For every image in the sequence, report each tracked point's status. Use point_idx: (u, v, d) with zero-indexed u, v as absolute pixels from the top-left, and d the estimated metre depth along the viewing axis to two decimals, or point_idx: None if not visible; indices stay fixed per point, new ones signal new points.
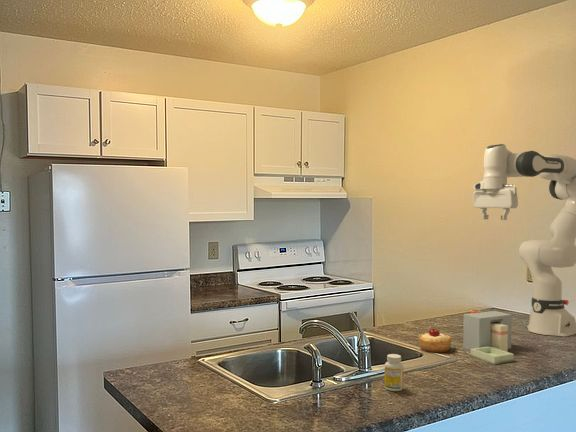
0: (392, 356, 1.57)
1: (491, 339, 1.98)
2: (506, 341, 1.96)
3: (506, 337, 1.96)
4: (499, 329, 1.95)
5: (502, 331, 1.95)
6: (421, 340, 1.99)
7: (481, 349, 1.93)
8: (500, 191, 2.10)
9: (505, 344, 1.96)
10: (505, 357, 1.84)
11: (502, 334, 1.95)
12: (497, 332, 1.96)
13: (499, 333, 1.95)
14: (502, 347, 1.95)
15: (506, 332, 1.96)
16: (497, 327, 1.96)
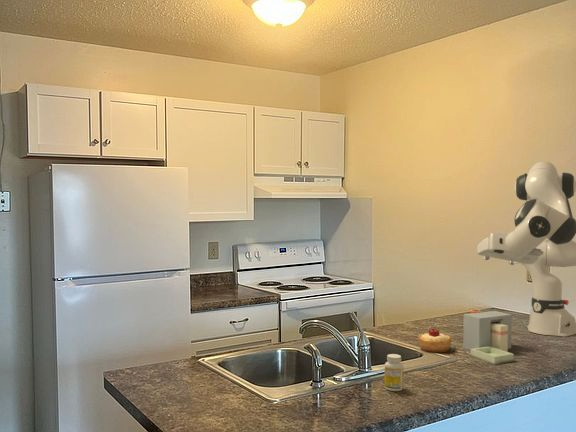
0: (392, 356, 1.57)
1: (491, 339, 1.98)
2: (506, 341, 1.96)
3: (506, 337, 1.96)
4: (499, 329, 1.95)
5: (502, 331, 1.95)
6: (421, 340, 1.99)
7: (481, 349, 1.93)
8: (525, 255, 1.85)
9: (505, 344, 1.96)
10: (505, 357, 1.84)
11: (502, 334, 1.95)
12: (497, 332, 1.96)
13: (499, 333, 1.95)
14: (502, 347, 1.95)
15: (506, 332, 1.96)
16: (497, 327, 1.96)
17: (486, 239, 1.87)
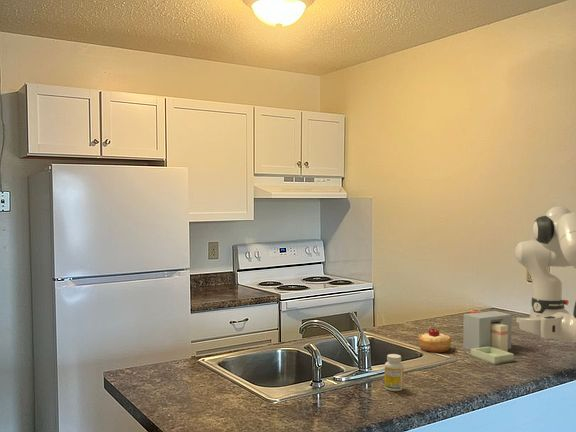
0: (392, 356, 1.57)
1: (491, 339, 1.98)
2: (506, 341, 1.96)
3: (506, 337, 1.96)
4: (499, 329, 1.95)
5: (502, 331, 1.95)
6: (421, 340, 1.99)
7: (481, 349, 1.93)
8: None
9: (505, 344, 1.96)
10: (505, 357, 1.84)
11: (502, 334, 1.95)
12: (497, 332, 1.96)
13: (499, 333, 1.95)
14: (502, 347, 1.95)
15: (506, 332, 1.96)
16: (497, 327, 1.96)
17: (535, 322, 1.72)
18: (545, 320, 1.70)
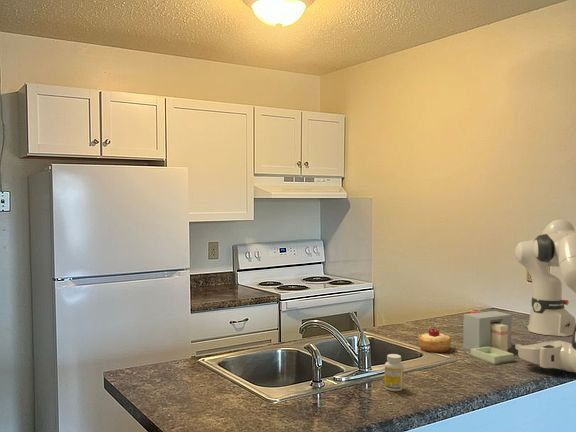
0: (392, 356, 1.57)
1: (491, 339, 1.98)
2: (506, 341, 1.96)
3: (506, 337, 1.96)
4: (499, 329, 1.95)
5: (502, 331, 1.95)
6: (421, 340, 1.99)
7: (481, 349, 1.93)
8: None
9: (505, 344, 1.96)
10: (505, 357, 1.84)
11: (502, 334, 1.95)
12: (497, 332, 1.96)
13: (499, 333, 1.95)
14: (502, 347, 1.95)
15: (506, 332, 1.96)
16: (497, 327, 1.96)
17: (534, 351, 1.73)
18: (544, 350, 1.70)
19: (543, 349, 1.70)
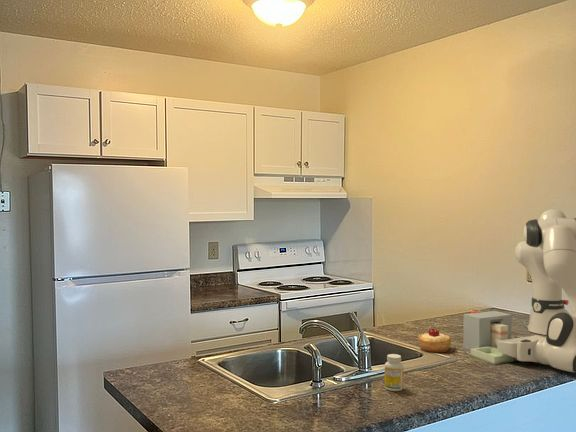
0: (392, 356, 1.57)
1: (491, 339, 1.98)
2: None
3: (506, 337, 1.96)
4: (499, 329, 1.95)
5: (502, 331, 1.95)
6: (421, 340, 1.99)
7: (481, 349, 1.93)
8: None
9: None
10: (505, 357, 1.84)
11: (502, 334, 1.95)
12: (497, 332, 1.96)
13: (499, 333, 1.95)
14: None
15: (506, 332, 1.96)
16: (497, 327, 1.96)
17: (512, 345, 1.81)
18: (521, 344, 1.79)
19: (520, 343, 1.79)
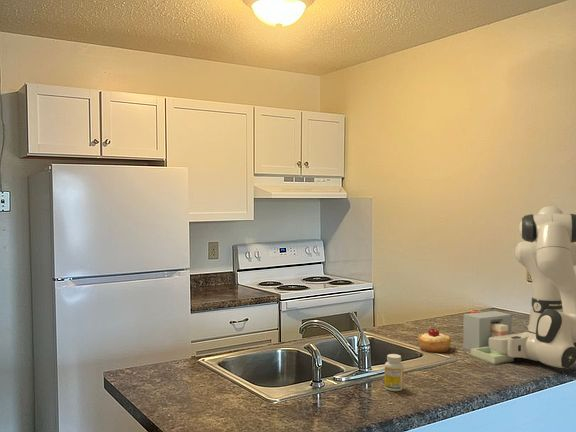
0: (392, 356, 1.57)
1: None
2: None
3: None
4: (499, 329, 1.95)
5: (502, 331, 1.95)
6: (421, 340, 1.99)
7: (481, 349, 1.93)
8: None
9: None
10: (505, 357, 1.84)
11: (502, 334, 1.95)
12: (497, 332, 1.96)
13: (499, 333, 1.95)
14: None
15: (506, 332, 1.96)
16: (497, 327, 1.96)
17: (503, 341, 1.84)
18: (511, 340, 1.82)
19: (510, 340, 1.82)
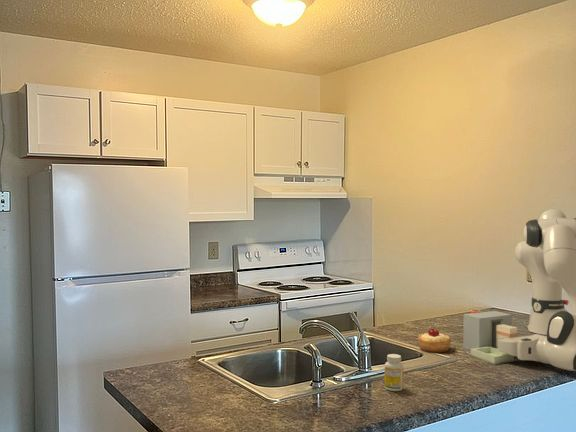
0: (392, 356, 1.57)
1: None
2: None
3: None
4: (508, 332, 1.91)
5: (511, 333, 1.91)
6: (420, 340, 1.99)
7: (481, 349, 1.93)
8: None
9: None
10: (505, 357, 1.84)
11: (511, 336, 1.91)
12: (506, 334, 1.92)
13: (508, 335, 1.91)
14: None
15: (515, 334, 1.92)
16: (506, 329, 1.92)
17: (512, 343, 1.80)
18: (521, 342, 1.78)
19: (520, 342, 1.78)
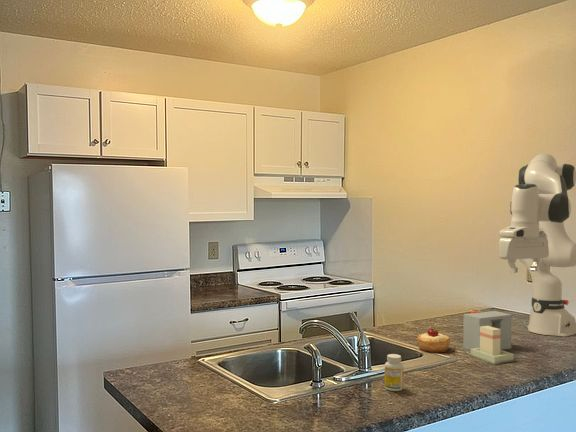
0: (392, 356, 1.57)
1: (483, 343, 1.90)
2: (499, 345, 1.88)
3: (499, 341, 1.88)
4: (491, 333, 1.87)
5: (494, 335, 1.87)
6: (420, 340, 1.99)
7: None
8: (538, 239, 1.84)
9: (498, 349, 1.88)
10: (505, 357, 1.84)
11: (494, 338, 1.87)
12: (489, 336, 1.88)
13: (491, 337, 1.87)
14: (494, 351, 1.87)
15: (499, 336, 1.87)
16: (489, 331, 1.88)
17: (501, 240, 1.81)
18: (500, 231, 1.82)
19: (500, 231, 1.82)
